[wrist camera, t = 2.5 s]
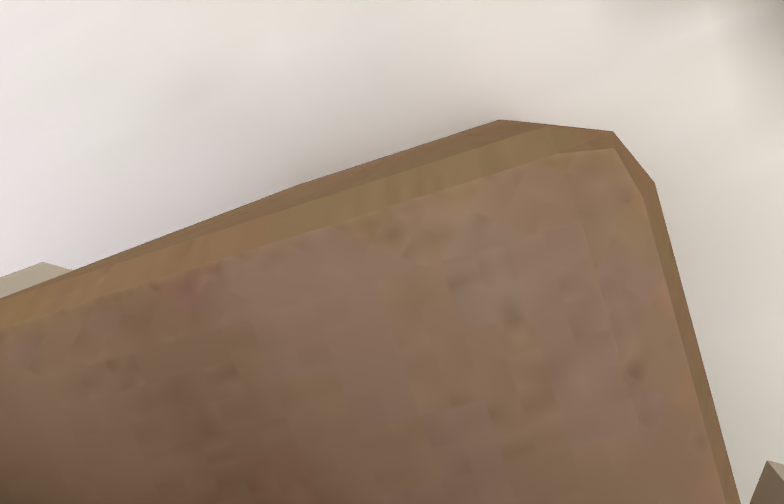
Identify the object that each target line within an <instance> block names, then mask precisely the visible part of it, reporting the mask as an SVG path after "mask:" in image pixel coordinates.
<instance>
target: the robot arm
mask: <svg viewBox="0 0 784 504" xmlns="http://www.w3.org/2000/svg"><path fill="white" fill-rule="evenodd" d="M71 271H73V270H69V269H66V268H62V267H58V266H55V265H51V264H47V263H44V262H42V263H39V264H36V265H34V266H31V267H28V268H25V269H23V270H20V271H17V272H14V273H12V274H9V275H6V276H3V277H1V278H0V298H2V297H5V296H8V295H10V294H13V293H16V292H18V291H21V290H23V289H26V288H29V287H31V286H34V285H37V284H39V283H42V282H44V281H47V280H50V279H52V278H55V277H58V276H60V275H63V274H66V273H68V272H71ZM750 504H784V465H782V464H778V463H775V462H771V461H767V462H766V464H765V467H764V469H763V472H762V474H761V477H760V479H759V482H758V484H757V487H756V489H755V492H754V494H753V497H752V499H751V502H750Z"/></svg>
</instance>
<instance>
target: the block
mask: <svg viewBox="0 0 784 504" xmlns="http://www.w3.org/2000/svg"><path fill="white" fill-rule="evenodd" d="M0 504H741V503H740V500H739V496H738V492H737V488H736V485H735V481H734V477H733V473H732V470H731V466H730V462H729V459H728V455H727V451H726V447H725V444H724V440H723V436H722V432H721V429H720V425H719V421H718V418H717V414H716V410H715V406H714V403H713V399H712V395H711V391H710V388H709V384H708V380H707V377H706V373H705V369H704V365H703V362H702V358H701V354H700V350H699V347H698V343H697V339H696V336H695V332H694V328H693V324H692V321H691V317H690V313H689V309H688V306H687V302H686V298H685V295H684V291H683V287H682V283H681V280H680V276H679V272H678V268H677V265H676V261H675V257H674V254H673V250H672V246H671V242H670V239H669V235H668V231H667V227H666V224H665V220H664V216H663V213H662V209H661V205H660V201H659V198H658V194H657V190H656V186H655V183H654V182H653V180H652V179H651V178H650V177H649V175H648V174H647V173H646V172H645V170H644V169H643V168H642V167H641V165H640V164H639V163H638V162H637V161H636V159H635V158H634V157H633V156H632V154H631V153H630V152H629V151H628V149H627V148H626V147H625V146H624V144H623V143H622V142H621V141H620V140H619V138H618V137H617V136H616V135H615V133H614V132H613V131H604V130H595V129H585V128H576V127H567V126H558V125H548V124H539V123H530V122H521V121H508V120H497V121H494V122H491V123H488V124H485V125H481V126H478V127H475V128H472V129H469V130H466V131H463V132H460V133H457V134H454V135H451V136H448V137H445V138H442V139H438V140H435V141H432V142H429V143H426V144H423V145H420V146H417V147H414V148H411V149H408V150H405V151H402V152H398V153H395V154H392V155H389V156H386V157H383V158H380V159H377V160H374V161H371V162H368V163H365V164H362V165H359V166H355V167H352V168H349V169H346V170H343V171H340V172H337V173H334V174H331V175H328V176H325V177H322V178H319V179H315V180H312V181H309V182H306V183H303V184H300V185H297V186H294V187H292V188H289V189H286V190H284V191H281V192H278V193H276V194H273V195H270V196H268V197H265V198H263V199H260V200H257V201H255V202H252V203H249V204H247V205H244V206H242V207H239V208H236V209H234V210H231V211H228V212H226V213H223V214H221V215H218V216H215V217H213V218H210V219H207V220H205V221H202V222H200V223H197V224H194V225H192V226H189V227H186V228H184V229H181V230H179V231H176V232H173V233H171V234H168V235H165V236H163V237H160V238H157V239H155V240H152V241H150V242H147V243H144V244H142V245H139V246H136V247H134V248H131V249H129V250H126V251H123V252H121V253H118V254H115V255H113V256H110V257H108V258H105V259H102V260H100V261H97V262H94V263H92V264H89V265H87V266H84V267H81V268H79V269H76V270H73V271H71V272H68V273H66V274H63V275H60V276H58V277H55V278H52V279H50V280H47V281H44V282H42V283H39V284H37V285H34V286H31V287H29V288H26V289H23V290H21V291H18V292H16V293H13V294H10V295H8V296H5V297H2V298H0Z"/></svg>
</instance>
